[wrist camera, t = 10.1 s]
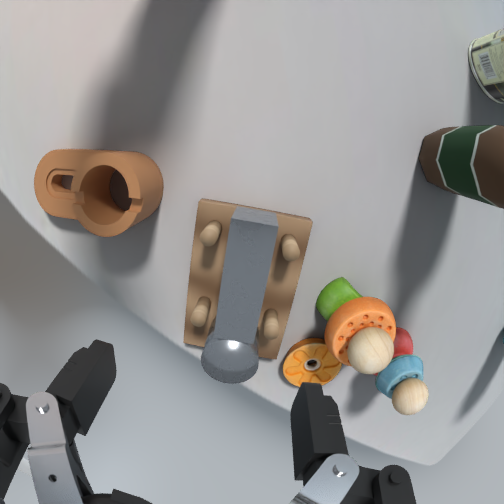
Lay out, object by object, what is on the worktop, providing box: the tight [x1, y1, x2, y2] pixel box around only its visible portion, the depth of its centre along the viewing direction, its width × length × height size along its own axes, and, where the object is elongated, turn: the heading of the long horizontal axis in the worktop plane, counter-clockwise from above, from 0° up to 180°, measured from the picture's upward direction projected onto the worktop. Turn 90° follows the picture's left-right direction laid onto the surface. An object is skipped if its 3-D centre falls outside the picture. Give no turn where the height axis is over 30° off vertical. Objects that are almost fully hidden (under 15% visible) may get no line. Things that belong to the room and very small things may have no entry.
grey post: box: [201, 206, 279, 383], centre depth 30 cm, size 18×6×6 cm, turn 170°
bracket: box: [34, 149, 163, 237], centre depth 29 cm, size 18×8×7 cm, turn 81°
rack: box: [184, 198, 313, 359], centre depth 32 cm, size 18×12×6 cm, turn 170°
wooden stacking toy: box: [283, 277, 428, 415], centre depth 32 cm, size 18×17×12 cm
